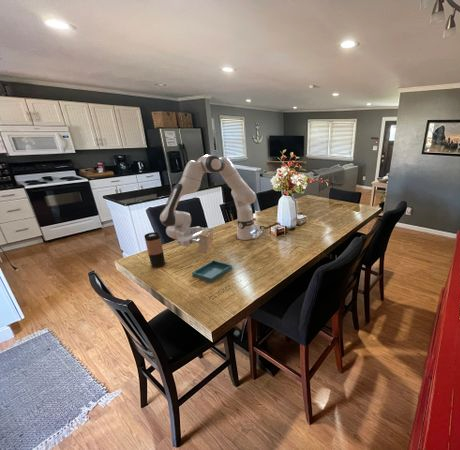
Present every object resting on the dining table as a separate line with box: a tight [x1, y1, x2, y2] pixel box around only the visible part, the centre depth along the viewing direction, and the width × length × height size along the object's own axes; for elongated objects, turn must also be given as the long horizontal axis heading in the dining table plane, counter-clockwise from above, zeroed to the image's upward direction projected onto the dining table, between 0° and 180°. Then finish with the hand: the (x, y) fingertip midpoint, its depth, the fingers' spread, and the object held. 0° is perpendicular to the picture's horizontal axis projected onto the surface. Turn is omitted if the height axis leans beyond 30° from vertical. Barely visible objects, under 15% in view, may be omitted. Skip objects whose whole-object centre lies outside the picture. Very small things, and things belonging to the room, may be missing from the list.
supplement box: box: [197, 226, 214, 255], centre depth 139 cm, size 8×5×13 cm, turn 173°
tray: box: [191, 259, 233, 283], centre depth 137 cm, size 16×14×2 cm
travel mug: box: [144, 231, 166, 269], centre depth 142 cm, size 8×8×20 cm
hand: (204, 239), depth 140 cm, fingers closed on supplement box, 6 cm apart
